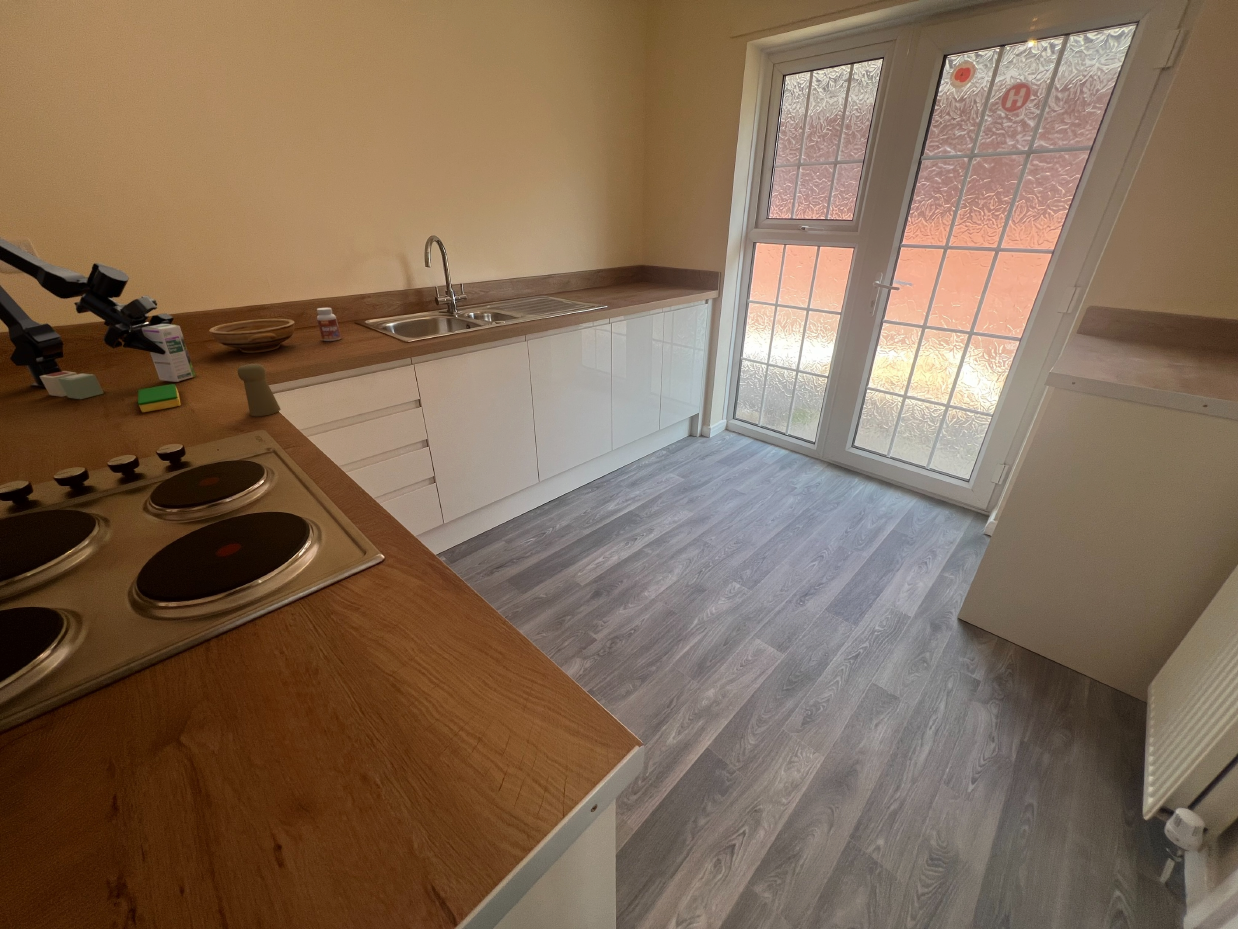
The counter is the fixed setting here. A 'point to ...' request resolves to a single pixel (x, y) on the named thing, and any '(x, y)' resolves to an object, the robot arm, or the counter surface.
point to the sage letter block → (81, 386)
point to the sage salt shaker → (258, 390)
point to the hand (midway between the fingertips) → (173, 350)
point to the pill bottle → (328, 325)
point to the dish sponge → (158, 398)
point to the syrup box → (170, 352)
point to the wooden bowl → (254, 334)
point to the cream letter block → (55, 382)
